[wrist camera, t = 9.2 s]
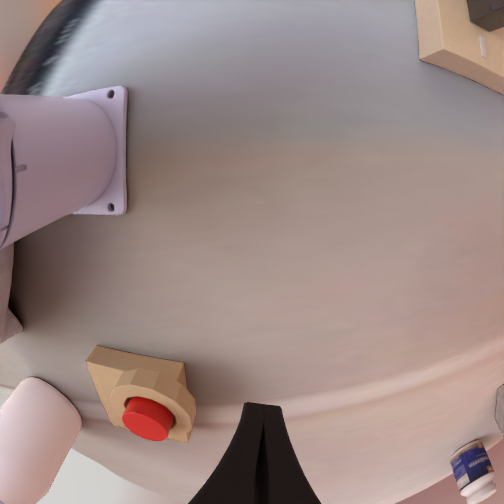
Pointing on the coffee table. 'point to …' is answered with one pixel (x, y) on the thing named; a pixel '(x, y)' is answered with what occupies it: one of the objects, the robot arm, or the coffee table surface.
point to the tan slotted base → (460, 42)
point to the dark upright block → (486, 13)
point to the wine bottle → (34, 440)
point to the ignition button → (147, 418)
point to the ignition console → (142, 386)
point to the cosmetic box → (500, 409)
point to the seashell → (7, 295)
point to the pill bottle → (473, 472)
